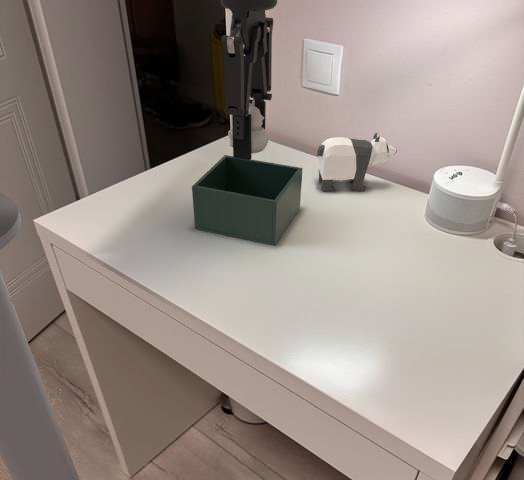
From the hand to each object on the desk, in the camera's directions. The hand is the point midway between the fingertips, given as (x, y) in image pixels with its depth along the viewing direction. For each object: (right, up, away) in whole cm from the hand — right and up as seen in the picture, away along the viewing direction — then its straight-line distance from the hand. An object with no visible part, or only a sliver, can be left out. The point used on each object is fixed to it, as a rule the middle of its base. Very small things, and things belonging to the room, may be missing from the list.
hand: (249, 150), depth 84 cm
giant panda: (+18, 0, +18) cm, 26 cm away
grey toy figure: (0, 0, 0) cm, 1 cm away
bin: (0, -9, +8) cm, 12 cm away
